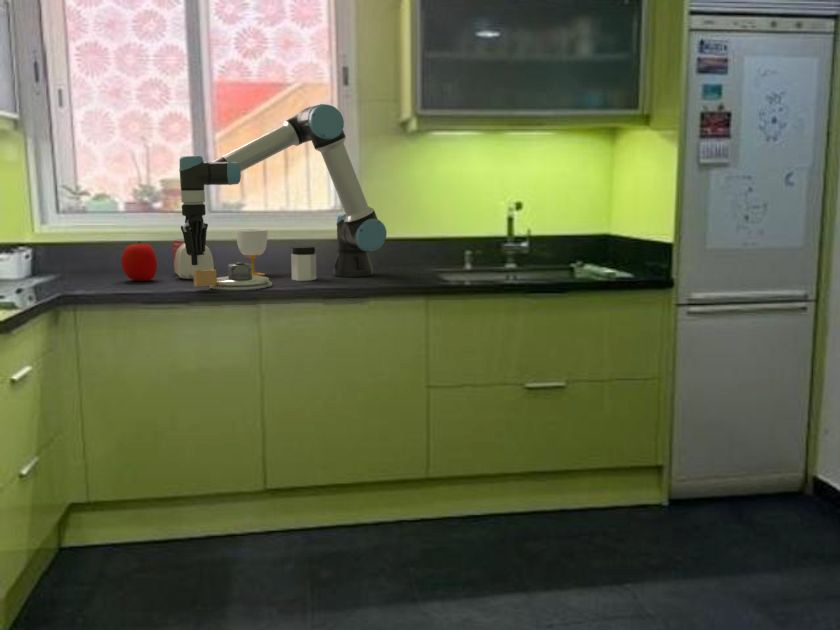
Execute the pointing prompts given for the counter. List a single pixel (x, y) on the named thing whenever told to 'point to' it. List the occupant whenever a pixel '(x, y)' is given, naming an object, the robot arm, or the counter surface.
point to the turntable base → (240, 287)
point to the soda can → (176, 245)
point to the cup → (252, 244)
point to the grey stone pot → (240, 271)
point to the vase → (185, 264)
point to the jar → (303, 263)
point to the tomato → (139, 262)
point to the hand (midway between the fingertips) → (197, 274)
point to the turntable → (224, 279)
